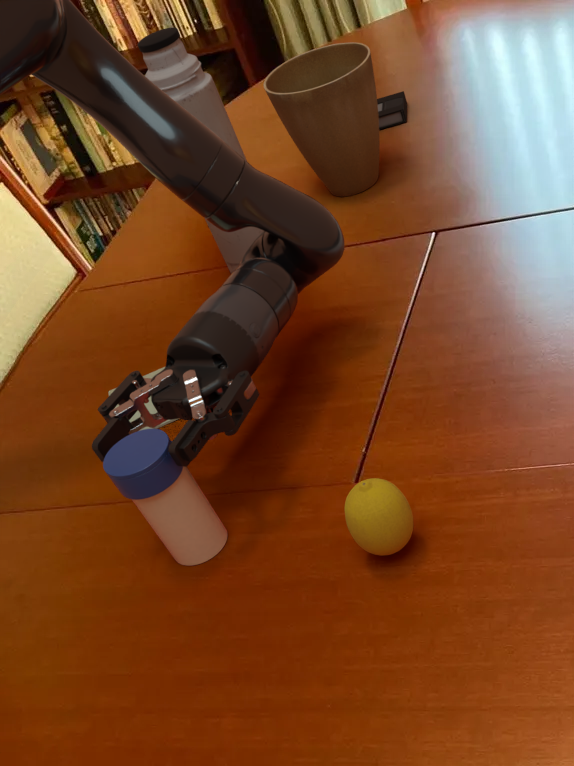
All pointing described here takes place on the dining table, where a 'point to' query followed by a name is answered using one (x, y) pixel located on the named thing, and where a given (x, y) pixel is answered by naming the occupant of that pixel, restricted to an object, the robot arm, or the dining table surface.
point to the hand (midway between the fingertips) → (136, 457)
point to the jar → (185, 521)
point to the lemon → (378, 516)
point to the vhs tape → (392, 110)
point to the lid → (142, 464)
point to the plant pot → (331, 113)
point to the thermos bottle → (196, 114)
